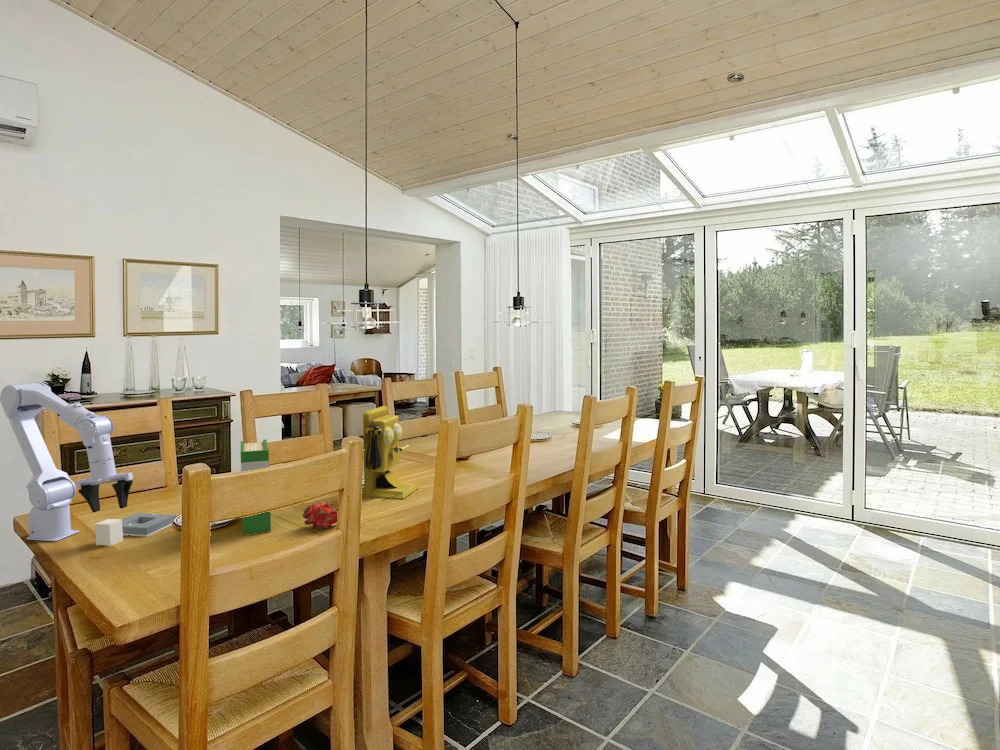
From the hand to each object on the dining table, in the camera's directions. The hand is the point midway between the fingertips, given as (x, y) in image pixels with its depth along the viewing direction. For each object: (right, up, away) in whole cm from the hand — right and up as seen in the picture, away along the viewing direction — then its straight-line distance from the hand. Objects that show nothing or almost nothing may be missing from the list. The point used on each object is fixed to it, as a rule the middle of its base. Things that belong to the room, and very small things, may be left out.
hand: (110, 509), depth 166 cm
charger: (-1, -9, +1) cm, 9 cm away
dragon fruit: (+54, -9, +14) cm, 57 cm away
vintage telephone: (+68, -6, +51) cm, 85 cm away
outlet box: (+1, -8, +13) cm, 15 cm away
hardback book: (+33, -8, +17) cm, 38 cm away
